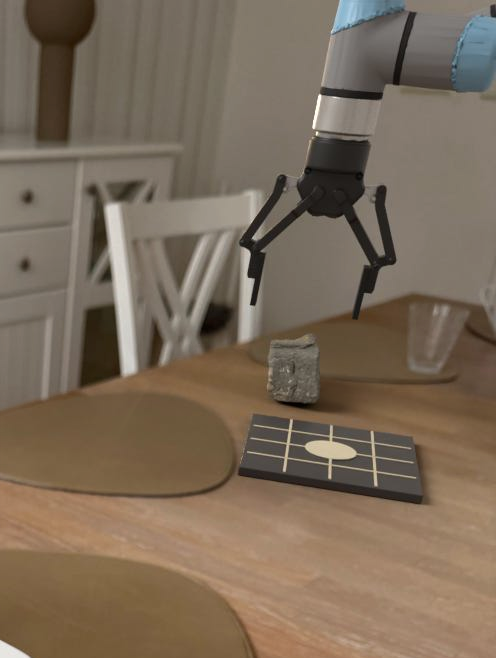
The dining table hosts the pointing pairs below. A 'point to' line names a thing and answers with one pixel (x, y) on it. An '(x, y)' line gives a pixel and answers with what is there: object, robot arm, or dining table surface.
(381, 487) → the board
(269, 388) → the rock
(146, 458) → the dining table surface
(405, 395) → the dining table surface
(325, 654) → the dining table surface
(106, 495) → the dining table surface
